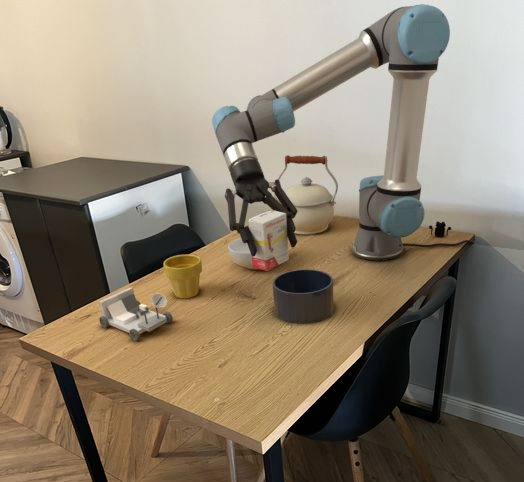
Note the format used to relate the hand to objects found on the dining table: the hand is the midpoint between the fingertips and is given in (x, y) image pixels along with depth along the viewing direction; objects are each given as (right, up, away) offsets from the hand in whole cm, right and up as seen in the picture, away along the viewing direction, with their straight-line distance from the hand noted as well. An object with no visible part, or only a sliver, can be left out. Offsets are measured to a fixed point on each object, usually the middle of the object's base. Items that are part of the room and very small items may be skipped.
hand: (274, 249), depth 127 cm
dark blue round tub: (+8, -13, +13) cm, 20 cm away
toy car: (-34, -18, +12) cm, 40 cm away
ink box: (-1, -3, +5) cm, 6 cm away
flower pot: (-24, -8, +27) cm, 37 cm away
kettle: (+12, +20, +68) cm, 72 cm away
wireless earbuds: (+55, +13, +51) cm, 76 cm away
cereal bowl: (-4, +3, +42) cm, 42 cm away
